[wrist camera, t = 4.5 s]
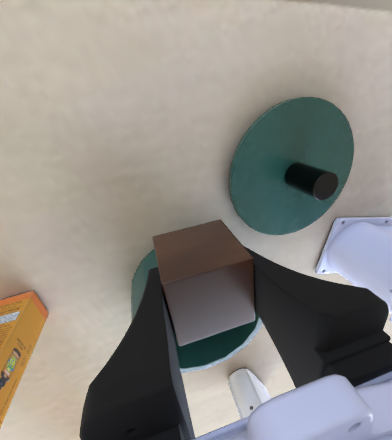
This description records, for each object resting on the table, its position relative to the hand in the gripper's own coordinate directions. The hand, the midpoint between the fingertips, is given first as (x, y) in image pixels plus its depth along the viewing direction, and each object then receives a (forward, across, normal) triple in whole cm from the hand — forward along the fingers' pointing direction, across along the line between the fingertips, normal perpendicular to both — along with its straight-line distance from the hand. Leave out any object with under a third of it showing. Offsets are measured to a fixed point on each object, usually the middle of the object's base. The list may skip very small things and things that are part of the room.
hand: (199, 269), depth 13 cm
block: (+1, 0, 0) cm, 1 cm away
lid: (+9, -12, -1) cm, 15 cm away
